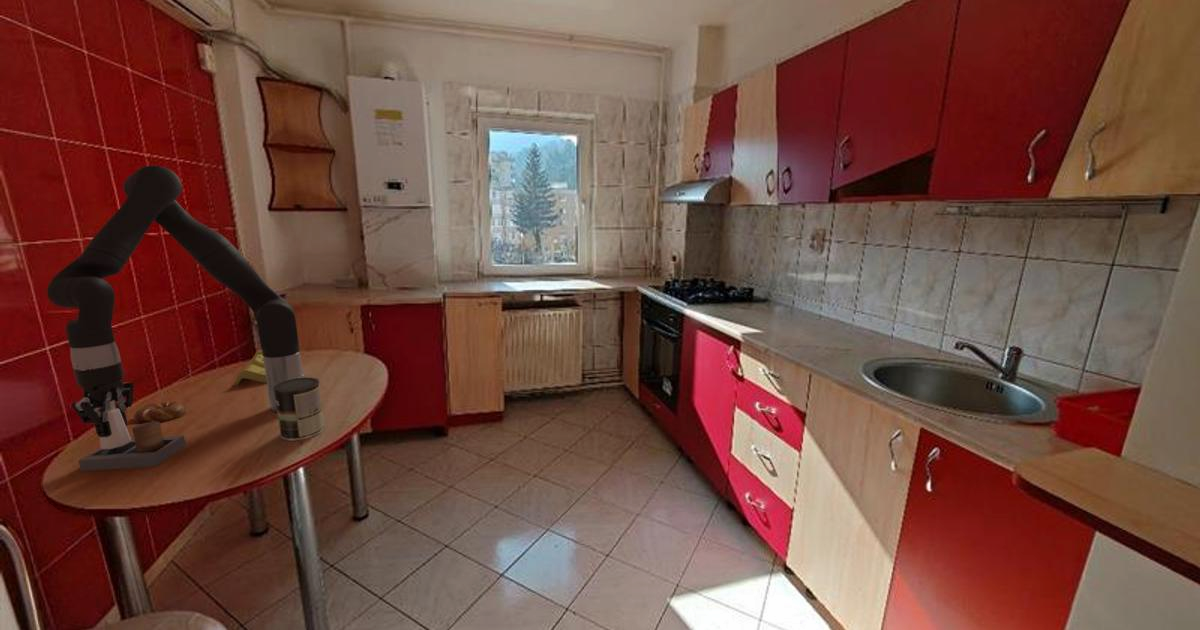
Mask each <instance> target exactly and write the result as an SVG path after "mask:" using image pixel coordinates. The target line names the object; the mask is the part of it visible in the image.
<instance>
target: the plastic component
mask: <svg viewBox="0 0 1200 630" xmlns="http://www.w3.org/2000/svg"><path fill="white" fill-rule="evenodd" d="M244 379H247V380H251V381H254V382H255V381H256V382H259V383H264V384H265V383H266V384H267V379H266V373H265V366H264V360H263V353H262V349H260V350H258V351H256V352H255V353H254V355H253V357H252V358H251V359H250V361H249V362H248V364H247V365H246V366H245V368H244V369H242V371H241V372H240V373H239V374H238V376H237V378H236V379H235V380H234V383H233V386H238V385H239V383H240V382H241V381H242V380H244Z"/></svg>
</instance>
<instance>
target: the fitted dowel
mask: <svg viewBox="0 0 1200 630" xmlns="http://www.w3.org/2000/svg"><path fill="white" fill-rule="evenodd" d="M131 430H132V434H133V435H132V436H133V438H134V440H135V444H136V449H137V453H145V452H156V451H158V450H159V449H161V448H162V447H164V446H165V445H164V440H163V437H164V436H163V432H162V427H161V422H148V423H143V424H140V423H139V424H137V425H135V426H133V427H132V429H131Z"/></svg>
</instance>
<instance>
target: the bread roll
mask: <svg viewBox="0 0 1200 630" xmlns="http://www.w3.org/2000/svg"><path fill="white" fill-rule="evenodd" d="M186 409H187V407H186V406H185V405H184V404H183V403H181V402H177V401H171V402H168V401H167V402H166V401H163V402H158V403H150V404H147V405H144V406H143V407H141V408H139V409H138V410H137V411H136V412H135V413H134V416H133V420H134V422H136V423H137V424H139V425H140V424H143V423H148V422H160V423H163V422H168V421H170V420H172V419H175V420H176V419H178V418H182V417H184V416H185V415H186V413H187V410H186Z"/></svg>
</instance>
